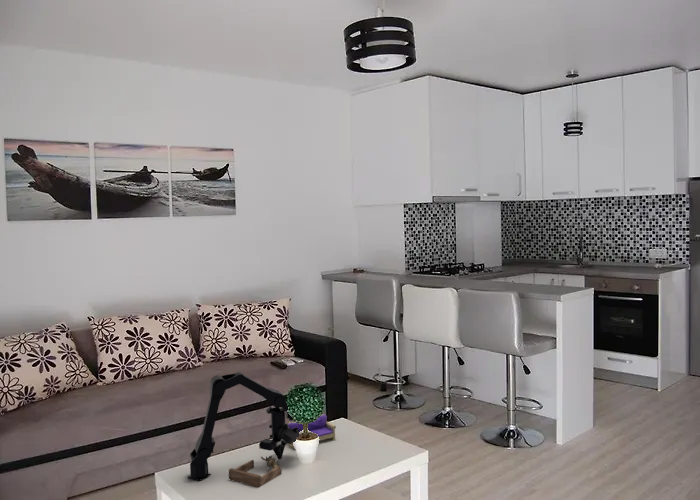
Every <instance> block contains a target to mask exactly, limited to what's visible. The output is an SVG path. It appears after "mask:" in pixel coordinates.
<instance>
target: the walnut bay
mask: <svg viewBox="0 0 700 500" xmlns="http://www.w3.org/2000/svg"><path fill="white" fill-rule="evenodd" d="M254 468H255V461H254V460H253V459H251V460H249V461H247V462H245V463H243V464H242V465H239V466H238V467H236V468H229V469H228V480H229V479H230V480H229V481H232V480H234V481H233V482H236V481H238V482H237V483H240V482H242V483H241V484H244V485H247V484H248V485H249V486H252V487H255V488H260V487H262V486H263V485H265V484H267V483H268V482H270V481H272V480H273V479H276V478H278V476H280V475H282V467H281V466H278V467H276V468H275V469H273V470H272V469H271V470H270V471H267V472H266V473H264V474H263V475H261V474H255V473H251V472H249V471H250V470H253V469H254Z"/></svg>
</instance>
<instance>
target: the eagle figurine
mask: <svg viewBox="0 0 700 500" xmlns="http://www.w3.org/2000/svg"><path fill="white" fill-rule="evenodd" d="M260 458H261V459H262V460H263V461H265V462H266V470H265V471H266V472H268V471H269V470H270V468H271V470H273V469H275V468H276V467H278V466H280V464H279V463H278V458H277V455H276V454H275V453H273V454H271V455H269V456H266V457H265V458H264V457H263V456H260Z"/></svg>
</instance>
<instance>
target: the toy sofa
mask: <svg viewBox="0 0 700 500" xmlns="http://www.w3.org/2000/svg"><path fill="white" fill-rule="evenodd" d="M320 415H321V416H320ZM320 415H319V416H320V417H319V418H318V419H317V420H316V421H315V422H312V423H309V424H308V430H309V431H311V432H313V433H316V434H318V436H319V439H320V441H323V440H328V439H331V440H332V441H336V425H335V424H333V423H330V422H329V421H327V420H328V416H327V415H326V414H324V413H323V414H322V413H321V414H320ZM296 422H297V421H295V422H294V421H289V422H288V423H287V425H288V428H290V429H294V428H296V427H297V428H298V429H299V432H300V431H302V430H303V425H302V424H298V423H296ZM287 445H288V446H290V447H291V448H292V449H294V446H293V443H292V444H287Z"/></svg>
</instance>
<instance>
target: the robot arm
mask: <svg viewBox="0 0 700 500" xmlns="http://www.w3.org/2000/svg"><path fill="white" fill-rule="evenodd" d="M238 385H241V386H242V387H244V388H246V389H247V390H250V391H252V392H254V393H256V394H257V395H259V396H261V397H262V398H264V399H265V400H266V401H268V403H269V404H271V405H272V406H273V407H272V406H270V405H269V406H268V408H267V409H266V410H265V412H266V413H267V414H268V415H270V423H271V424H269V425H268V428H269V429H271V434H269V438H265V439H263V440H261V441H260V442H259V444H258V445H259V446H258V447H259V448H258V449H259V450H265V451H273V454H275V455H277V458H278V460H280V461H281V460H282V458H283V454H284V451H285V448H286V446H287V445H288V444H292V443H293V442H295V441H296V439H297V437H299V429H298V428H297V427H296V428H294V429H290V428H289V427H288V423H286V419H288V421H289V422H293V421H294V420H293V418H292V417H291V416H290V415H289V414H288V412H287V410H288V406H287V403H288V402H287V401H286V400H287V399H286V396H285V394H283V393H282V392H281V391H280V390H278V389H274V388H270V387H267V386H265V385H263V384H261V383H259V382H258V381H255V380H254V379H252V378H250V377H249V376H247V375H245V374H243V373H242V372H241V371H237V372H235V373H228V374H224V375H218V374H217V375H214V376H212V377H211V379H210V381H209V401H208V405H207V408H206V414H205V417H204V422H203V425H202V431H201V433H200V435H199V436H198V438H197V441H196V443H195V446H194V449H192V451H191V452H190V453H189V457H190V461H191V462H190V463H189V467H190V468H189V469H190V471H189V472H190V475H188V476H187V479H190V480H192V481H193V480H194V481H196V482H201V481H202V480H204V479H207V478H208V477H210V476H212V473H210V472H209V463H208V460H209V458H210V457H211V456H212V454H214V448H215V445H216V441H215V438H214V437H213V433H214V428H215V424H216V419H217V415H218V411H219V406H220V402H221V400H222V398H223V397H224V395H225V393H226V391H227V390H228V389H231V388H234V387H236V386H238ZM286 402H287V403H286Z"/></svg>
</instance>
